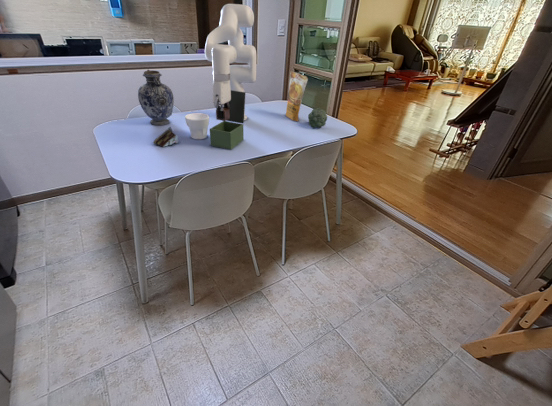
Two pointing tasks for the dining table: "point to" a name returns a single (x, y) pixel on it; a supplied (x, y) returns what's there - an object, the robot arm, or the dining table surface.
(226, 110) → the block
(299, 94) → the pancake mix bag
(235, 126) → the bin
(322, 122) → the vegetable
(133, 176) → the dining table surface
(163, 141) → the chocolate cake
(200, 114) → the cup
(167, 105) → the decorative vase
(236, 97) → the bin lid
